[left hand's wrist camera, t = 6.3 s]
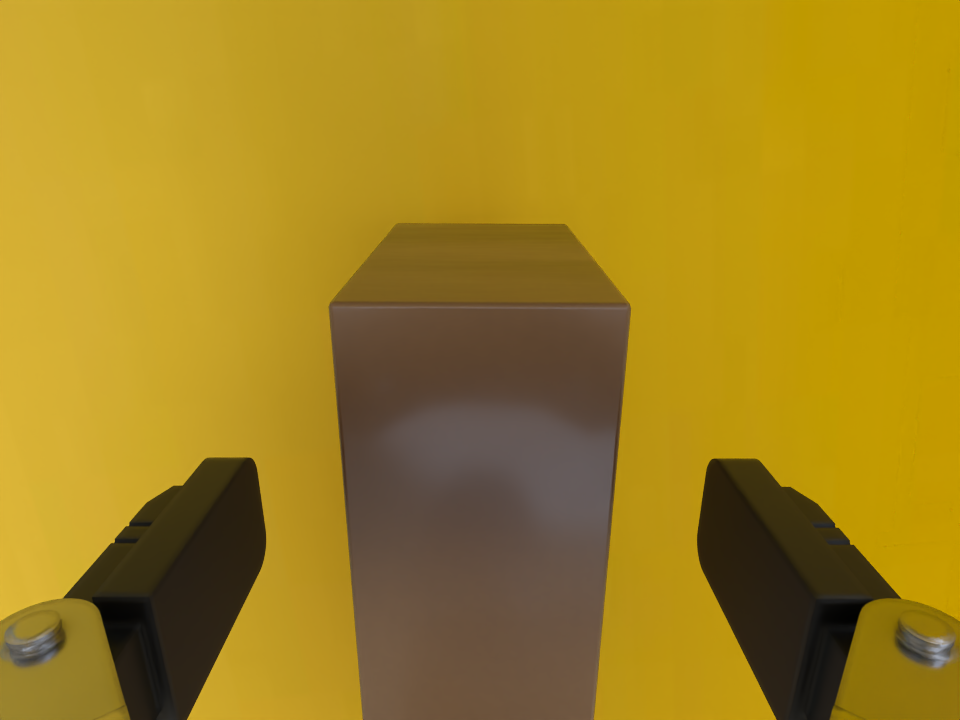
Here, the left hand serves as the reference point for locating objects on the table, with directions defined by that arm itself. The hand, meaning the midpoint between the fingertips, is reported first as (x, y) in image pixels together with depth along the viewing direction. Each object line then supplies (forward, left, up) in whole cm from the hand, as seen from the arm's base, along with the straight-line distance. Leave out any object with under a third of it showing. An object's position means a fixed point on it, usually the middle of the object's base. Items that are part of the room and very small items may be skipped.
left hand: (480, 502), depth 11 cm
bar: (+10, 0, -8) cm, 13 cm away
